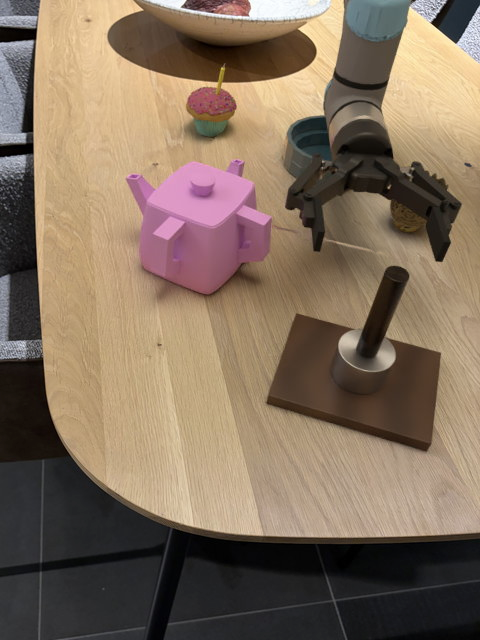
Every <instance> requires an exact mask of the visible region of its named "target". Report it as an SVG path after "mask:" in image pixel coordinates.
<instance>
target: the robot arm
mask: <svg viewBox="0 0 480 640" xmlns="http://www.w3.org/2000/svg"><path fill="white" fill-rule="evenodd" d="M416 1H417V0H343V2H342V3H343V15H342V16H343V18H342V26H341V27H342V29H341V36H340V41H339V47H338V51H337V56H336V62H335V66H334V68H333V73H332V77H331V79H330V80H329V81H328V82H327V85H326V87H325V88H324V89H325V90H324V94H323V101H322V109H323V115H325V117H326V122H327V128H328V134H329V141H330V147H331V155H332V161H326V160H322V155H321V154H320V153H314V154H313V156H312V160H311V163H310V165H309V166H308V167H307V168H306V169H305V170H304V171H303V173H302V174H301V175H300V176H299V177H298V178H295V181H293V182H292V184H290V186H289V187H288V189H287V194H286V200H285V205H284V208H285V209H286V210H287V211H294V210H296V209H297V210H298V211H299V214H298V219H300V220H301V225H302V226H303V228H307V229H310V231H311V241H312V251H313V252H314V253H321V251H322V246H323V242H324V239H325V236H326V235H325V234H326V226H325V218H324V209H323V206H324V205H325V204H327V203H328V202H330V201H331V200H333V199H334V198H336V197H337V196H339V197H342V196H343V195H345V194H346V193H348V192H349V191H353V193H370V194H375V195H376V194H377V195H379V196H382V197H383V198H384V199H386V200H388V201H391V200H392V199H394V200H396V201H397V202H399V203H400V204H402V205H403V206H405V207H406V208H408V209H410V210H411V211H413V212H414V213H416V214H417V215H419V216H420V217H422V218H423V219H425V220H426V221H427V222H426V224H425V225H424V227H425V231H426V234H427V238H428V241H429V244H430V247H431V251H432V254H433V258H434V261H435V262H436V263H438V262H439V263H443V262H444V259H445V258H446V255H447V253H448V252H449V249H450V246H451V245H452V240H451V238H450V234H451V231H452V229H453V224H454V223H455V221H456V219H457V217H458V215H459V212H460V210H461V208H462V206H463V203H462V202H461V201H460V200H459V199H458V198H457V197H456V196H454V195H453V193H451V192H449V190H448V189H447V190H446V189H445V188H444V187H443V186H442V185H440V184H439V183H438V182H437V181H436V180H435V179H433V178H432V177H431V176H432V175H429V174H430V173H429V174H428V173H427V172H425V171H426V170H425V168H424V166H423V164H422V163H421V162H419V161H418V160H417V161H415V160H413V161H411V164H410V167H409V166H400V164H399V163H397V162H396V161H395V157H394V150H393V146H392V142H391V139H390V136H389V131H388V128H387V125H386V121H385V117H384V114H383V110H382V109H383V108H382V107H383V101H384V99H385V96H386V92H387V88H388V84H389V81H390V76H391V72H392V69H393V66H394V63H395V58H396V56H397V53H398V49H399V47H400V44H401V40H402V37H403V33H404V30H405V28H406V27H407V24H408V16H409V11H410V7H411V5H412V4H414V3H415V2H416ZM327 172H330V173H331V176H330V177H328V178H326V179H325V180H323V181H322V182H320V183H319V184H317V185H315V184H316V183H317V180H318V179H322V176H323V175H325V174H326V173H327ZM314 185H315V186H314Z"/></svg>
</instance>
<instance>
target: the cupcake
mask: <svg viewBox="0 0 480 640" xmlns="http://www.w3.org/2000/svg"><path fill="white" fill-rule="evenodd" d="M225 66H226V63H223V65H222V67H221V68H220V71H219V77H218V80H217V85H216V87H213V86H203V87H199V88H197V89H195V90H193V91H191V92H190V95H189V96H188V97H187V101H186V103H185V110H186V112H187V113H188V114H189V115H190V116H192V118H193V121H194V124H195V129H196V131H197V133H198V134H200V135H201V136H204V137H208V138H215V137H217V136H218V135H220V134H222V133H223V132H224V131H225V128H226V126H227V124H228V121H229V120H230V119H231V118H232V117H234V115H235V113H236V110H237V108H238V106H237V103H236V100H235V98H234V96H232V94H231V93H230V92H228V90H226V89H224V88H222V85H223V81H224V76H225V71H226V68H225Z"/></svg>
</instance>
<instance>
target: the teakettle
mask: <svg viewBox="0 0 480 640" xmlns="http://www.w3.org/2000/svg"><path fill="white" fill-rule="evenodd" d="M245 163H246V162H245V161H244V160H241V159H238V158H234V159H233V160H231V161H230V162H229V165H228V167H227V168H226V170H223V169H220V168H217V167H215V166H212V165H208V164H205V163H202V162H199V161H194V160H192V161H189V162H187V163H185V164H184V165H182V166H181V167H179V168H178V169H177V170H175V171H174V172H173V173H171V174H170V175H169V176H168V177H166V179H164V180H163V182H162V183H160V185H158V186H157V188H156V189H155V188H154V187H153V186H152V185H151V184H150V182H148V181H147V180H146V178H145V177H144V176H143V174H141V173H134V172H131V173H130V174H128V176H126V177H125V181H126V184H127V185H128V187H129V189H130V191H131V193H132V195H133V197H134V200H135V202H136V204H137V206H138V208H139V210H140V212H141V214H142V221H141V226H140V233H139V243H138V255H139V260H140V262H141V265H142V267H143V269H145V270H146V271H147V272H149V273H151V274H153V275H155V276H158V277H160V278H162V279H163V280H167V281H169V282H172V283H174V284H176V285H179V286H181V287H183V288H186V289H188V290H191V291H193V292H197V293H200V294H203V295H207V296H208V295H211V294H214V292H216V291H218V290H219V289H220V288H221V287H222V286H224V284H226V282H228V281H229V279H230V278H231V277H232V276H233V275H234V274H235V273H236V272H237V271H238V270H239V268H240V267H241V265H242V264H245V263H254V262H255V263H256V262H263V261H264V260H265V258H267V256H268V255H269V254H270V252H271V239H272V238H271V237H272V223H273V217H272V216H271V215H268V214H266V213H263V212H261V211H259V210H258V206H257V205H258V204H257V195H256V185H255V183H254V181H252V180H249V179H247V178H244V177H243V174H244V168H245Z"/></svg>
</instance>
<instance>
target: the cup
mask: <svg viewBox="0 0 480 640" xmlns="http://www.w3.org/2000/svg"><path fill="white" fill-rule="evenodd" d="M425 172H427V173H428V174H429V175H430V171H429V170H428V169H427V170H425ZM430 176H431V177H432V178H433V179H435V180H436V181H437V182H438V183H439V184H440V185H442V186H443V187H444V188H445V189H446V190H447V191H448V190H449V184H447V182H446V179H445V178H444V177H441V178H438V174H437V173H436V172H435V173H433V174H431V175H430ZM389 211H390V214H391V217H392V218H393V226H394V228H395V229H396V230H397V231H399V232H401V233H404V234H413V233H416V232H417V231H418V229H419V228H420V227H422V226H425V225H426V222H427V221H426V220H425V219H423V218H422V217H420V216H419V215H417V214H416V213H414V212H413V211H411V210H410V209H408V208H406V207H405V206H403V205H402V204H400V203H399V202H397V201H396V200H394V199H392V200H390V204H389Z"/></svg>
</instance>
